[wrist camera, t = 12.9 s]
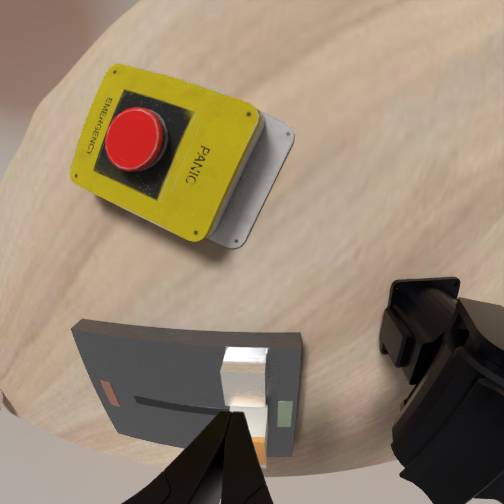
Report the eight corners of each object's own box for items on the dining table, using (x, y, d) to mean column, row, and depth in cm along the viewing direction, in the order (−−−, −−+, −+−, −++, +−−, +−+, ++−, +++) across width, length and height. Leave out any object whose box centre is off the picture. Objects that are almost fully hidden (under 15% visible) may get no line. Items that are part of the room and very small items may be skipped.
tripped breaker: (267, 404, 21) (264, 442, 17) (268, 429, 22) (265, 464, 18) (231, 403, 21) (222, 439, 17) (234, 428, 22) (228, 462, 18)
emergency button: (87, 51, 12) (305, 119, 13) (118, 67, 17) (299, 130, 17) (42, 177, 15) (230, 273, 16) (77, 173, 19) (240, 251, 20)
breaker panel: (300, 332, 21) (303, 365, 17) (291, 442, 25) (291, 471, 21) (82, 318, 23) (58, 339, 19) (124, 422, 27) (111, 444, 23)
